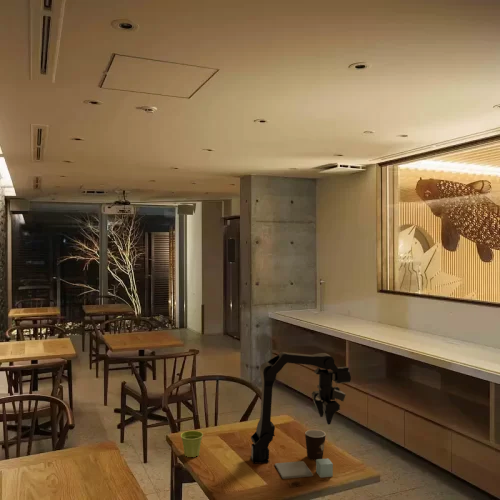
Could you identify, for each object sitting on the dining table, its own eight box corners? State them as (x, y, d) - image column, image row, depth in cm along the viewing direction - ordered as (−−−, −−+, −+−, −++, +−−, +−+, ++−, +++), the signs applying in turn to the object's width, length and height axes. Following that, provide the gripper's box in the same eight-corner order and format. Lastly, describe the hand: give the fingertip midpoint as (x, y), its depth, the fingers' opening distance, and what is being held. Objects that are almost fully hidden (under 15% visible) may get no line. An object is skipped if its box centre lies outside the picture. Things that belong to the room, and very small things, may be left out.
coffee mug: (312, 463, 210) (312, 438, 210) (300, 455, 218) (300, 431, 218) (335, 457, 216) (335, 434, 215) (323, 450, 223) (323, 427, 223)
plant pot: (197, 461, 211) (197, 440, 211) (176, 457, 214) (176, 437, 214) (206, 452, 220) (206, 432, 220) (186, 449, 223) (186, 429, 223)
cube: (320, 477, 198) (320, 464, 198) (316, 472, 202) (316, 459, 202) (332, 476, 199) (332, 463, 199) (328, 470, 204) (328, 458, 203)
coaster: (282, 478, 196) (282, 476, 196) (274, 465, 208) (274, 463, 208) (312, 476, 199) (312, 474, 199) (303, 463, 210) (303, 461, 210)
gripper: (352, 389, 210) (351, 427, 211) (335, 377, 229) (335, 412, 229) (326, 390, 208) (325, 428, 208) (311, 378, 226) (311, 413, 227)
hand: (325, 420), depth 218 cm, fingers open, 9 cm apart
